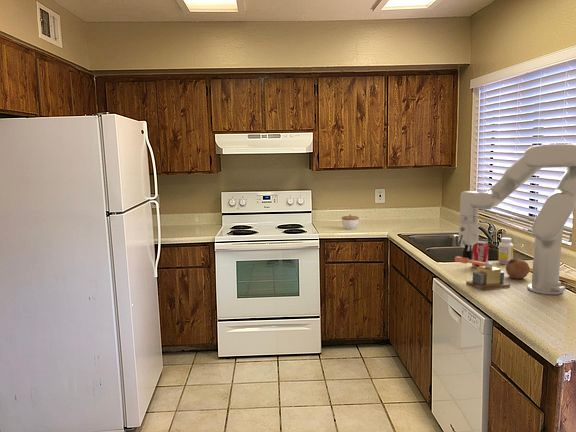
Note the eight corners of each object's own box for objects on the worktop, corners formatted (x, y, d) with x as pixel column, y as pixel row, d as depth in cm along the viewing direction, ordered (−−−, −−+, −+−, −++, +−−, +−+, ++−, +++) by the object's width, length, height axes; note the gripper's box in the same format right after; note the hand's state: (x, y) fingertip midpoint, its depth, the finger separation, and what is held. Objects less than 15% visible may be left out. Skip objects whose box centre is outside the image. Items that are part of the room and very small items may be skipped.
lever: (494, 267, 190) (494, 262, 190) (490, 268, 188) (490, 263, 188) (458, 260, 203) (458, 256, 202) (454, 261, 201) (454, 257, 200)
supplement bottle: (508, 261, 232) (509, 236, 230) (515, 264, 225) (516, 239, 223) (495, 261, 231) (496, 237, 230) (502, 264, 225) (503, 239, 223)
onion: (509, 285, 201) (500, 266, 200) (512, 275, 208) (503, 256, 207) (531, 281, 195) (522, 261, 194) (534, 270, 202) (525, 251, 201)
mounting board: (509, 287, 188) (510, 284, 188) (482, 290, 185) (482, 287, 184) (493, 280, 198) (493, 278, 198) (466, 283, 194) (466, 281, 194)
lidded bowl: (350, 231, 327) (350, 216, 325) (338, 229, 337) (338, 214, 335) (362, 229, 335) (362, 214, 333) (349, 227, 345) (349, 212, 343)
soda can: (474, 264, 226) (475, 239, 224) (489, 267, 221) (490, 241, 219) (469, 267, 220) (470, 242, 218) (485, 270, 216) (486, 243, 214)
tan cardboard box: (504, 284, 190) (505, 268, 189) (481, 287, 186) (482, 270, 185) (493, 280, 196) (494, 264, 195) (471, 283, 193) (472, 266, 192)
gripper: (468, 221, 190) (466, 263, 193) (485, 218, 200) (483, 258, 202) (451, 219, 196) (450, 260, 199) (469, 216, 206) (467, 255, 208)
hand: (467, 259), depth 201 cm, fingers closed
